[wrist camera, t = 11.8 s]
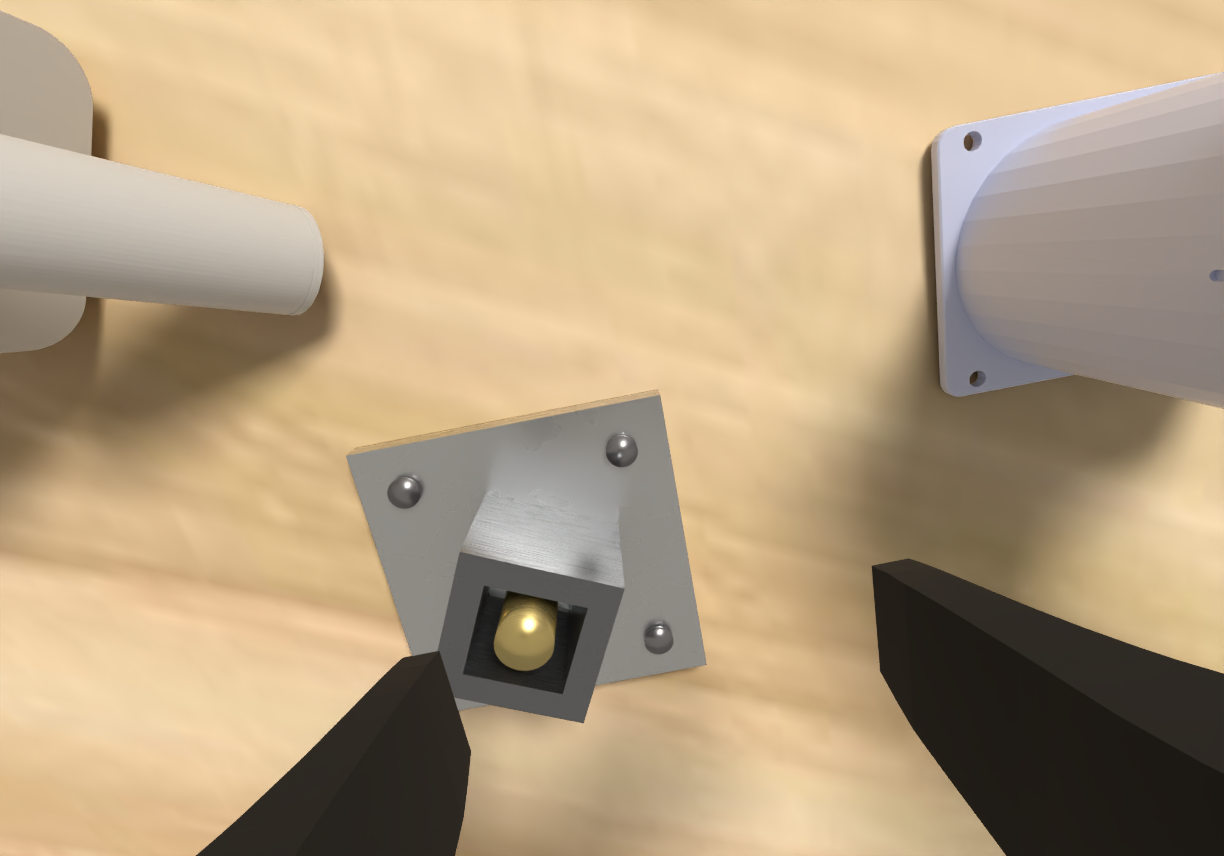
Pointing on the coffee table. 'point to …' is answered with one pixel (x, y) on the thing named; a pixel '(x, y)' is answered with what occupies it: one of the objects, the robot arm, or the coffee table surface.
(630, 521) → the anchor plate
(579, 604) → the hollow square tube
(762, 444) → the coffee table surface
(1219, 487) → the coffee table surface
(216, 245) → the wall hook
